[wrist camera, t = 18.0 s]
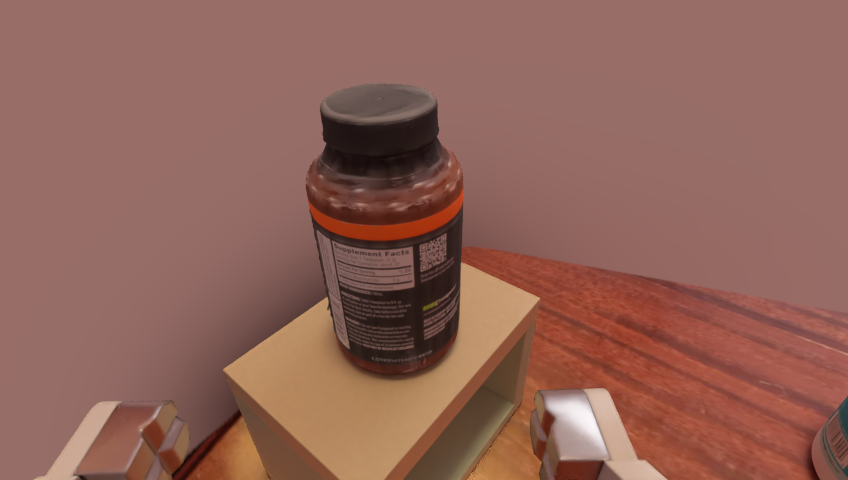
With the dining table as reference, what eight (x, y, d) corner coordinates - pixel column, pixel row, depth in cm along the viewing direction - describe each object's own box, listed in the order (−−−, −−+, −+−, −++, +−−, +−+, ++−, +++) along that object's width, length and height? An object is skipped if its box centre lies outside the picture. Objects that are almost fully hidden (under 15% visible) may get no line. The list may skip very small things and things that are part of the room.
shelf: (382, 597, 20) (363, 502, 15) (266, 473, 25) (222, 369, 20) (521, 402, 28) (540, 297, 23) (414, 336, 33) (410, 238, 28)
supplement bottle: (372, 279, 25) (349, 68, 18) (474, 306, 23) (489, 81, 16) (310, 358, 20) (250, 115, 14) (431, 400, 18) (428, 140, 12)
